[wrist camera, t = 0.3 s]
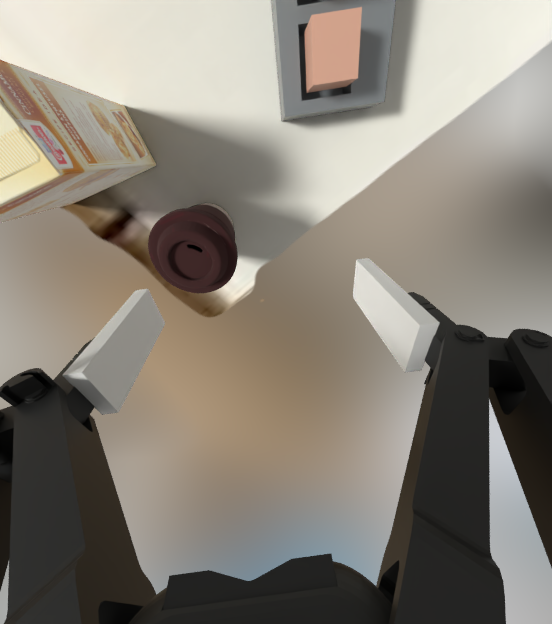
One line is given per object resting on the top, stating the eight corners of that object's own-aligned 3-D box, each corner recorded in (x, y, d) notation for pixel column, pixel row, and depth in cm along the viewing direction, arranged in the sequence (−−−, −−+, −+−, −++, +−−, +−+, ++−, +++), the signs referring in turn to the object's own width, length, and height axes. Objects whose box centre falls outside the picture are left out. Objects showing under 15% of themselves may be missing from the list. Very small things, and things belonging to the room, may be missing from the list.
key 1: (304, 32, 23) (311, 14, 21) (348, 25, 23) (361, 6, 20) (306, 92, 26) (313, 85, 23) (346, 86, 26) (357, 78, 23)
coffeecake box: (123, 102, 28) (-46, 35, 12) (158, 166, 32) (65, 178, 16) (27, 150, 30) (-229, 146, 14) (71, 205, 34) (-89, 250, 18)
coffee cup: (208, 265, 41) (188, 313, 29) (166, 216, 36) (120, 249, 24) (253, 235, 39) (253, 273, 26) (215, 178, 34) (192, 192, 21)
